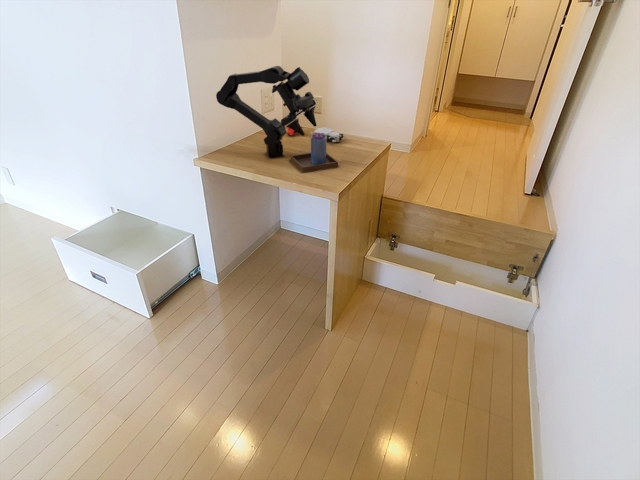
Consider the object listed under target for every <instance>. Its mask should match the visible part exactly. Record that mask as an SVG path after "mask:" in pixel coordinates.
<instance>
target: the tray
mask: <svg viewBox="0 0 640 480" xmlns="http://www.w3.org/2000/svg"><path fill="white" fill-rule="evenodd" d="M289 161H290V162H291V163H292V164H293V165H294V166H295V167H296V168H297V169H298V170H299V171H300V172H301V173H308V172H316V171H322V170H326V169H334V168H339V161H338V160H337V159H335V158H334V157H333V156H331V155H330V154H329V153H328V152H326V163H325V164H319V165H313V164H311V152H307V153H300V154H293V155H292V154H291V155H290V156H289Z"/></svg>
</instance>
